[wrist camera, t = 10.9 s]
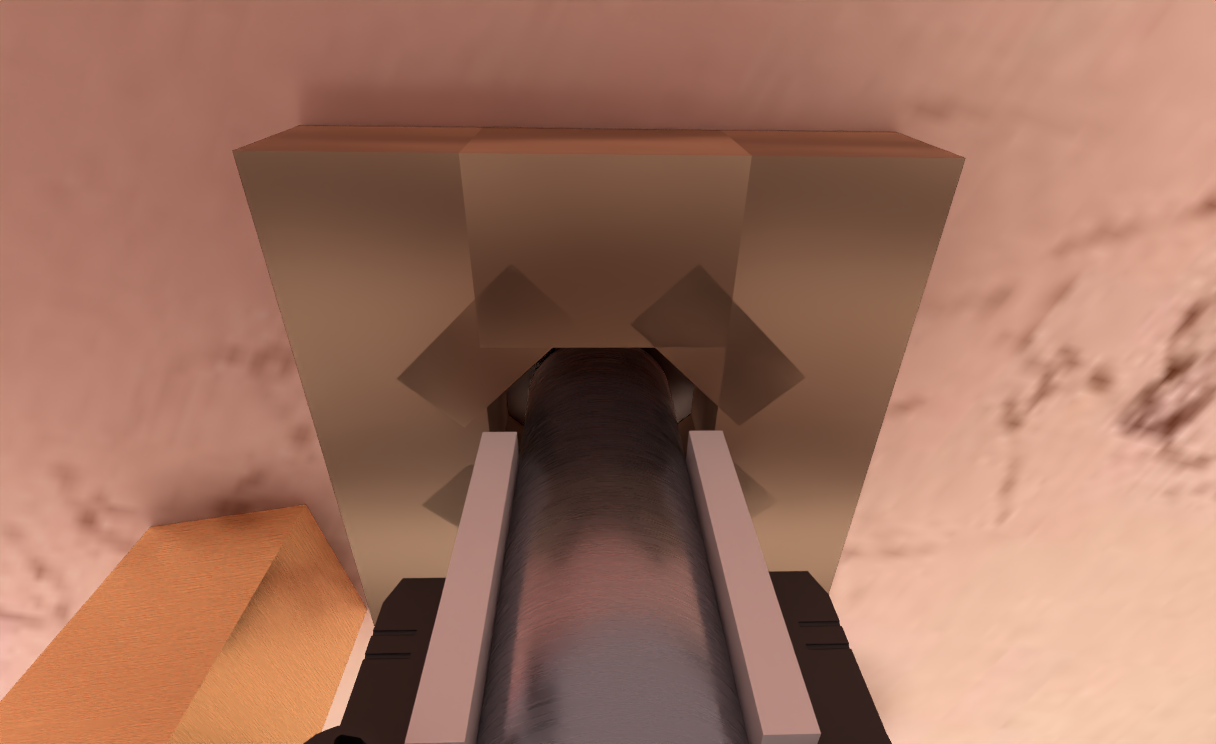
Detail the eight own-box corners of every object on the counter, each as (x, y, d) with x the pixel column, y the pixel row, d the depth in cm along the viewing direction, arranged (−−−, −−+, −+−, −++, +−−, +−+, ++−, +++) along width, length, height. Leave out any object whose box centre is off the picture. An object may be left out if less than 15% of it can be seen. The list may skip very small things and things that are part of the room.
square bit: (150, 527, 20) (-125, 847, 12) (305, 504, 20) (123, 818, 12) (229, 627, 23) (47, 939, 15) (367, 609, 22) (251, 918, 15)
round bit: (524, 337, 16) (318, 1410, 4) (675, 337, 16) (959, 1368, 4) (532, 456, 18) (418, 1388, 6) (665, 455, 18) (828, 1362, 6)
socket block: (299, 125, 14) (232, 150, 11) (896, 132, 14) (965, 158, 11) (400, 550, 21) (374, 625, 18) (792, 545, 21) (821, 618, 19)
